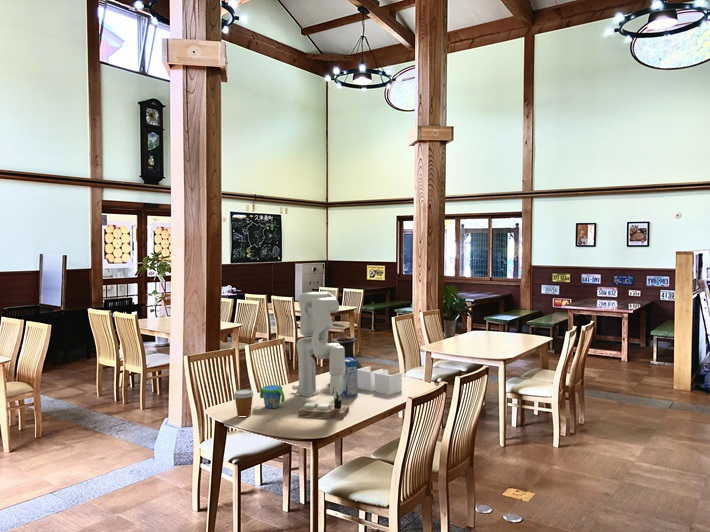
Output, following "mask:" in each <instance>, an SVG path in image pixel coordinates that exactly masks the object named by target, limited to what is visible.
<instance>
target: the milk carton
mask: <svg viewBox="0 0 710 532" xmlns="http://www.w3.org/2000/svg"><path fill="white" fill-rule="evenodd" d="M343 376H344V391H343V392H342V393H341V396H343V397H345V398H346V397H347V399H349V398H348V397H351V398H356V397H355V396H358V390H359V388H358V387H357V360H355V359H353V358H351V357H350V358H345V374H344V375H343ZM358 397H359V396H358Z"/></svg>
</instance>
